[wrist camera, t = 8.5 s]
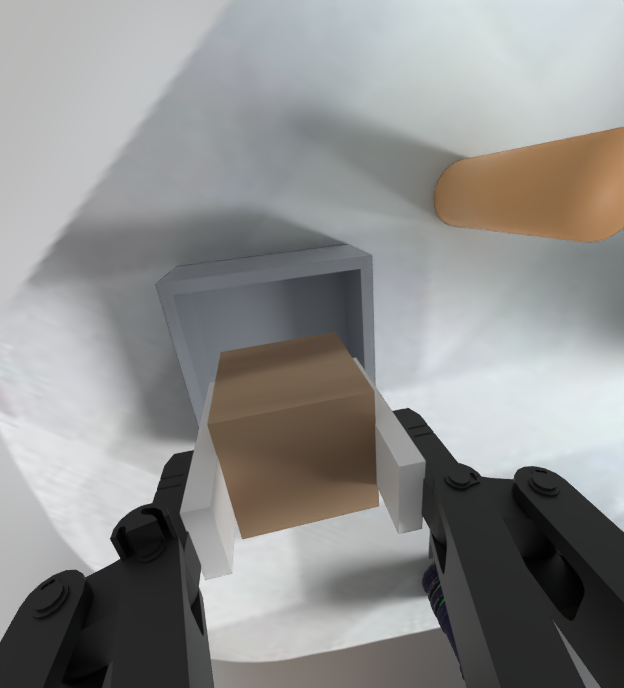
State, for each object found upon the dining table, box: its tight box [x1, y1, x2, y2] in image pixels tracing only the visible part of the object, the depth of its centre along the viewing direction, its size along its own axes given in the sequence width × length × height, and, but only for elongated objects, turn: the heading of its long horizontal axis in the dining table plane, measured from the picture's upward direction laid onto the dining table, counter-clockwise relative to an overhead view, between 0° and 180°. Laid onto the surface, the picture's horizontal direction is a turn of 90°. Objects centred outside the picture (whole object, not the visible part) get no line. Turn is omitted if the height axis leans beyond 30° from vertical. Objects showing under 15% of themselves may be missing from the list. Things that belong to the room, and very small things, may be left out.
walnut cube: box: [207, 332, 379, 539], centre depth 13 cm, size 5×5×5 cm
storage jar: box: [422, 562, 465, 681], centre depth 41 cm, size 10×10×15 cm
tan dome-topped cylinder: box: [434, 127, 624, 242], centre depth 21 cm, size 5×5×12 cm
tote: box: [155, 244, 376, 427], centre depth 27 cm, size 18×14×6 cm
